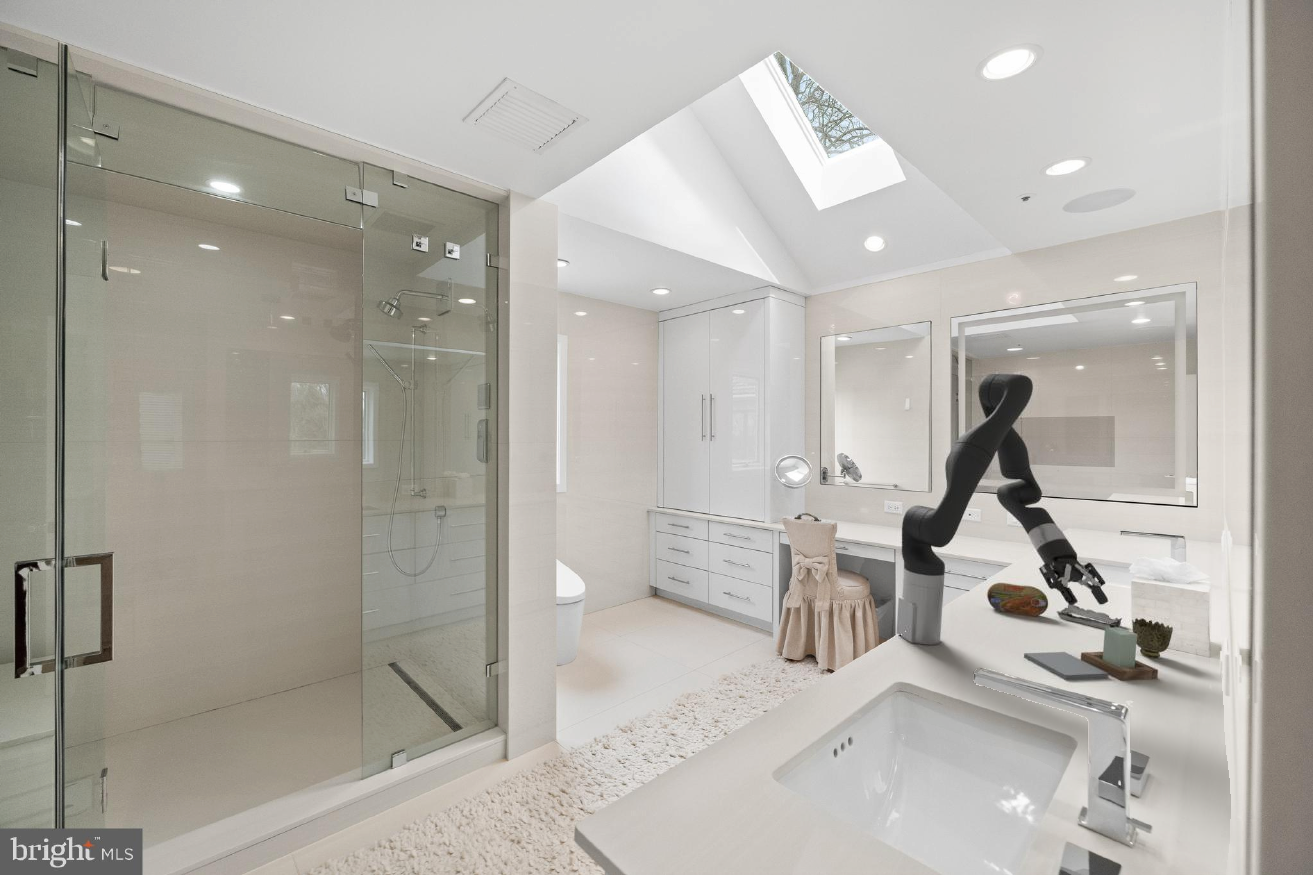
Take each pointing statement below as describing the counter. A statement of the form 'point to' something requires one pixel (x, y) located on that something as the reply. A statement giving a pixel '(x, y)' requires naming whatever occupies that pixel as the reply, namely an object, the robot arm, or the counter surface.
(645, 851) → the counter surface
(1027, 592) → the tin
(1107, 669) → the walnut pocket
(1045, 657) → the slate coaster
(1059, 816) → the counter surface
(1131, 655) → the sage block
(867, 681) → the counter surface
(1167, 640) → the cup
